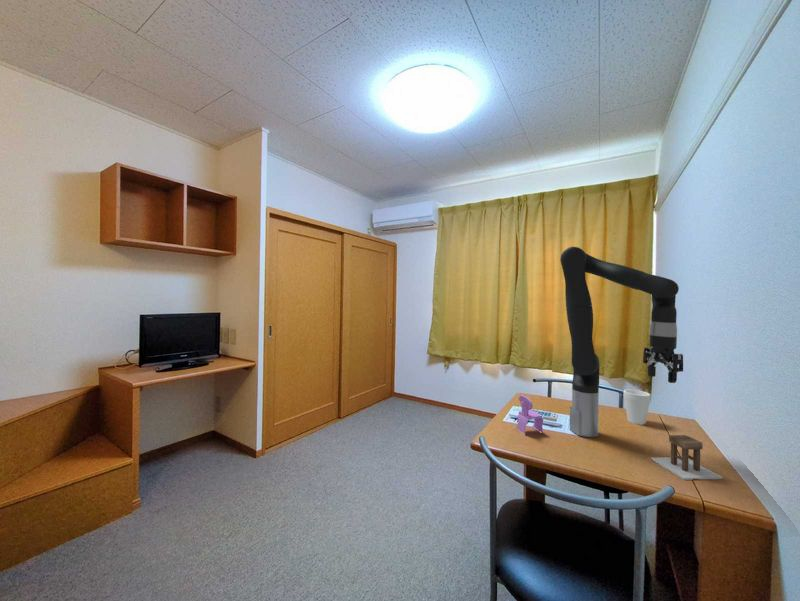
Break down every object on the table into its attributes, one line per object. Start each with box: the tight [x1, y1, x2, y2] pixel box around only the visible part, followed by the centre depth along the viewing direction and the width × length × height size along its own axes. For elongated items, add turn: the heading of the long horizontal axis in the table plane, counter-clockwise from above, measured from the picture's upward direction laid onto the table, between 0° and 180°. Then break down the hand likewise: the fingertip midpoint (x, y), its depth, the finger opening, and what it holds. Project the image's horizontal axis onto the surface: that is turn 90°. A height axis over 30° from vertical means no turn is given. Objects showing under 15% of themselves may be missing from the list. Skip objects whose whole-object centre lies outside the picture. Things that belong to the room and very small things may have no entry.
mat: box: [650, 456, 723, 481], centre depth 101 cm, size 12×12×1 cm
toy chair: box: [515, 394, 544, 435], centre depth 129 cm, size 8×9×15 cm
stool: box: [668, 434, 703, 471], centre depth 101 cm, size 6×6×9 cm
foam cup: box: [623, 388, 651, 426], centre depth 139 cm, size 10×9×13 cm
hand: (661, 379), depth 114 cm, fingers open, 8 cm apart
